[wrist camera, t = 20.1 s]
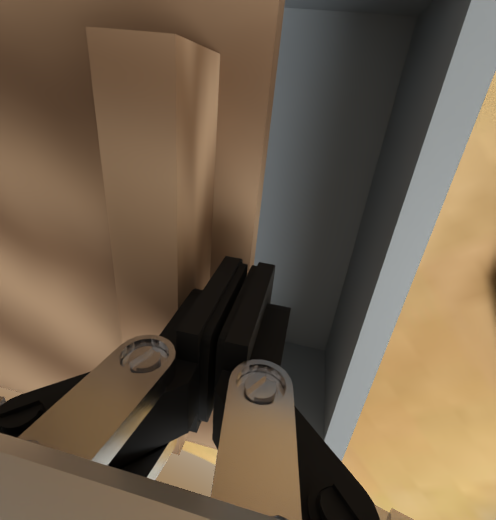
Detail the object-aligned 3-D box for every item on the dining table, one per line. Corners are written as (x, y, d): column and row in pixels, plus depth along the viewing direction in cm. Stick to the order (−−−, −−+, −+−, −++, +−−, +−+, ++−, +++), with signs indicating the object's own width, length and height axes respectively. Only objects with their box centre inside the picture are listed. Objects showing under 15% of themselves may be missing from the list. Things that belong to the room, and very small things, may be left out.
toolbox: (6, -33, 18) (-206, -123, 11) (450, -11, 14) (571, -123, 7) (71, 296, 28) (-16, 361, 21) (337, 357, 24) (341, 460, 17)
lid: (-198, -129, 10) (-472, -250, 7) (300, -131, 8) (278, -323, 4) (-7, 368, 20) (-77, 423, 17) (233, 435, 18) (210, 516, 14)
